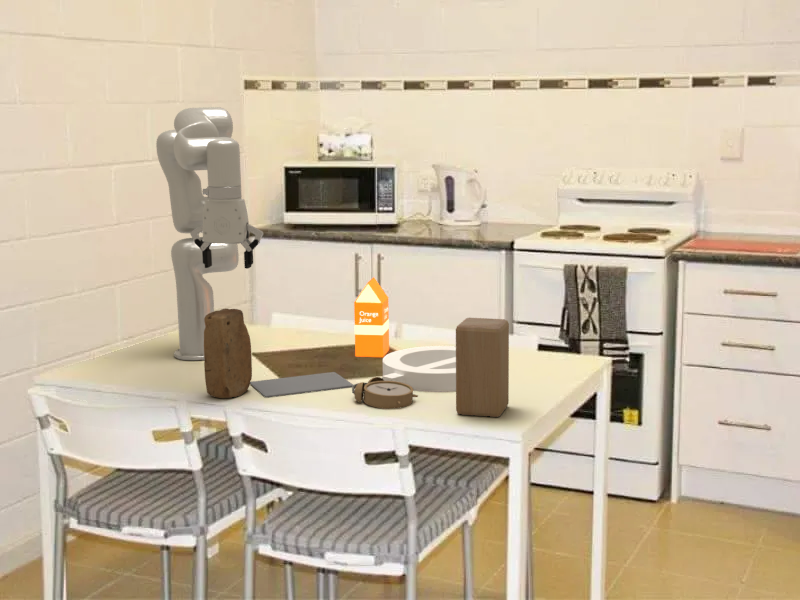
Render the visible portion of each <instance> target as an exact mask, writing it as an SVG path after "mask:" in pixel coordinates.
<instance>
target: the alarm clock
mask: <svg viewBox="0 0 800 600" xmlns="http://www.w3.org/2000/svg"><path fill="white" fill-rule="evenodd" d="M351 392H352V394H353V395H354V398H355V400H356V402H358V403H362V401H361V400H363V402H364V403H365V404H366V405H368V406H369V407H373V408H377V409H383V410H384V409H385V410H389V409H391V410H392V409H401V408H405V407H408V406H410V405H411V404H413V398H418V397H419V395H418V394H414V390H413V388H412V387H411V386H409V385H408V384H405V383H401V382H396V381H384V380H383V379H382V377H380V376H375V377H371V378H370V379H369V380H368V381H367V382H363V381H362V382H361V381H360V382H356V383H355V384H353V386H352V387H351ZM400 407H401V408H400Z"/></svg>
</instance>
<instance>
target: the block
mask: <svg viewBox="0 0 800 600" xmlns="http://www.w3.org/2000/svg"><path fill="white" fill-rule="evenodd" d="M244 319H245V318H244V313H243V310H241V309H238V308H221V309H220V310H219V309H218V310H214V312H211V313H209V314H207V315H206V316H205V318H204V322H205V330H204V358H205V360H204V362H203V365H204V366H203V367H204V380H205V388H206V393H207V394H208V395H209V396H212V397H214V398H218V399H231V398H232V397H234V398H237V396H238V397H240V396H242V395H243V394H245V393H246V392H247V391H248V390H249V388H250V386H251V385H250V382H252V380H253V378H252V377H253V365H252V364H253V360H252V343H251V338H250V334H249V331H248V328H247V325H246V324H245V321H244Z"/></svg>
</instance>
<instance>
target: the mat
mask: <svg viewBox="0 0 800 600" xmlns="http://www.w3.org/2000/svg"><path fill="white" fill-rule="evenodd" d="M250 384H251V385H252V386H253V387H254V389H255V390H256V391H257V390H258V391H259V392H260V393H261V396H263V397H264V396H265V397H268V398H273V397H272V396H276V397H280V396H279V395H284V396H289V395H288V394H292V395H298V394H297V393H300V394H306V393H305V392H308V393H312V392H311V391H316V392H322V391H321V390H324V391H330V390H331V389H332V390H338V389H340V388H341V389H347V388H352V386H353V385H354V384H353V383H352V382H351V381H349V380H347V379H345V377H343V376H342V375H340V374H338V373H337V372H335V371H332V372H331V371H329V372H322V373H313V374H306V375H305V374H303V375H298V376H297V375H296V376H288V377H287V376H286V377H278V378H273V379H272V378H271V379H261V380H254V381H252V380H251V381H250ZM251 385H250V386H251ZM252 386H251V387H252ZM253 387H252V388H253ZM258 391H257V392H258ZM259 392H258V393H259ZM260 393H259V394H260ZM265 397H264V398H265Z"/></svg>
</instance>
